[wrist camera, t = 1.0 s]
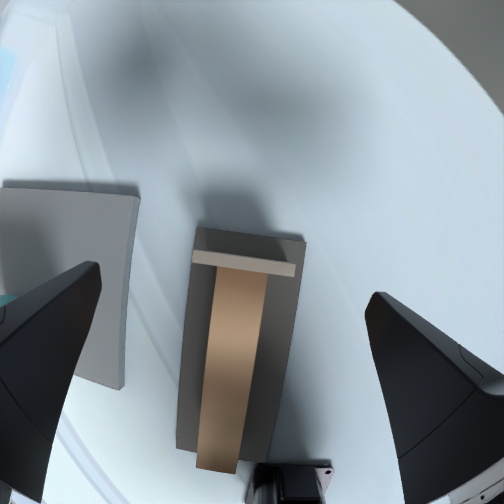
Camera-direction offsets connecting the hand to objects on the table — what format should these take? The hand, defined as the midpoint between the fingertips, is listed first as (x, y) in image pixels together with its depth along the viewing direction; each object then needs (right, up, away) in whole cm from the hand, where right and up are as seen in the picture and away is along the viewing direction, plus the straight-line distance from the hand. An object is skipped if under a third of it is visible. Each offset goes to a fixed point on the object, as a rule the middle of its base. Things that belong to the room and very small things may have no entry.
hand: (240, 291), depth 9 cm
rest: (-1, -6, +10) cm, 12 cm away
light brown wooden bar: (-1, -6, +10) cm, 12 cm away
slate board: (-16, -1, +11) cm, 20 cm away
